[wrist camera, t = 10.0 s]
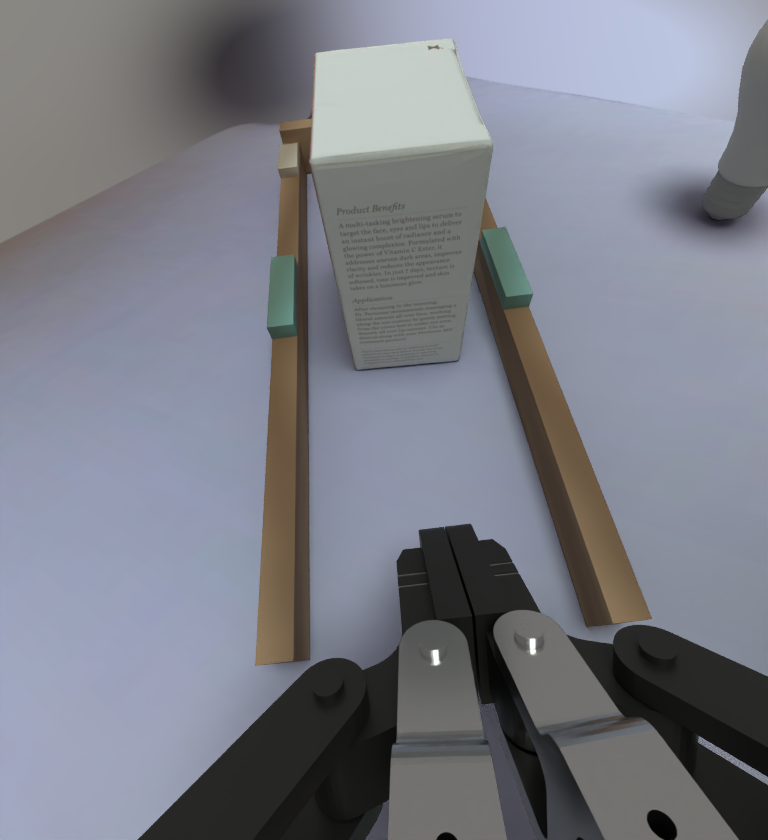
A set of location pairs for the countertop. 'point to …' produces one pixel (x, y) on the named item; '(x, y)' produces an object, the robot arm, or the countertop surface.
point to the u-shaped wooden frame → (533, 392)
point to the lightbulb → (745, 142)
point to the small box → (399, 195)
